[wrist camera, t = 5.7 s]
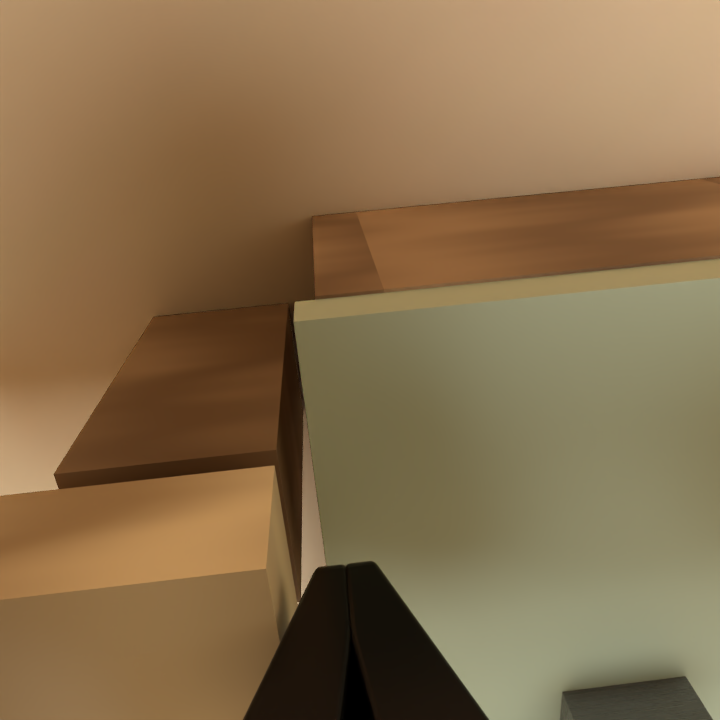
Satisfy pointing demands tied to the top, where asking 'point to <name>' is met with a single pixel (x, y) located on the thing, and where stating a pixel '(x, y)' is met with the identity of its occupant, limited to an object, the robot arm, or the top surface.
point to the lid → (534, 479)
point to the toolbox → (351, 278)
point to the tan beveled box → (142, 597)
